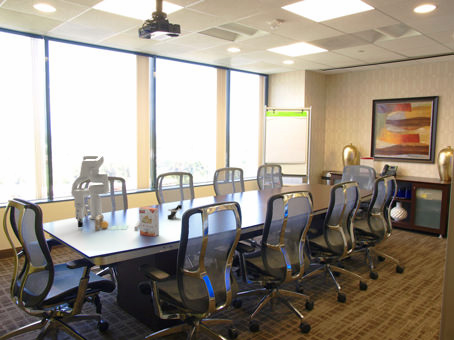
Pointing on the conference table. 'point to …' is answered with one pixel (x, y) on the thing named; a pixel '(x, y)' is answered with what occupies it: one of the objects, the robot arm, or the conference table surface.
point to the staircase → (174, 211)
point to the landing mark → (119, 227)
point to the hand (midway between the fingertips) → (80, 227)
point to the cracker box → (149, 221)
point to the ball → (104, 224)
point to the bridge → (98, 222)
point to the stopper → (137, 225)
